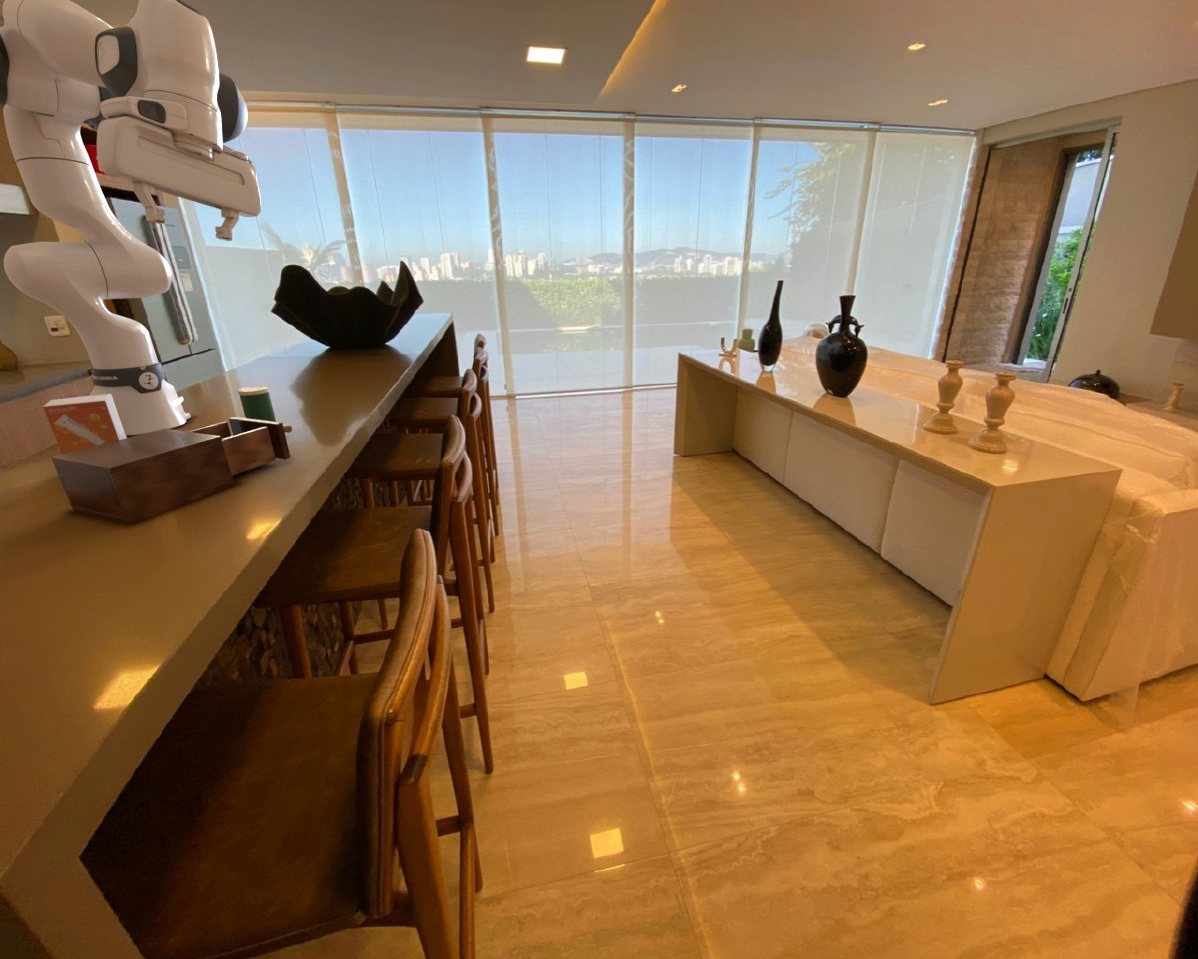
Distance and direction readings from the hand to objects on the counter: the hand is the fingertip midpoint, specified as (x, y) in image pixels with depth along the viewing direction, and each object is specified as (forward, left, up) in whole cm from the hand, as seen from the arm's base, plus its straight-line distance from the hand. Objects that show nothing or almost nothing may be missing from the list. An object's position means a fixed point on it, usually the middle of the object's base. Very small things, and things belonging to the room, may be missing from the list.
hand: (191, 231), depth 79 cm
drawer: (-5, +1, -38) cm, 38 cm away
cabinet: (-5, -13, -39) cm, 41 cm away
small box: (-28, -8, -39) cm, 49 cm away
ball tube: (-16, +15, -39) cm, 45 cm away
